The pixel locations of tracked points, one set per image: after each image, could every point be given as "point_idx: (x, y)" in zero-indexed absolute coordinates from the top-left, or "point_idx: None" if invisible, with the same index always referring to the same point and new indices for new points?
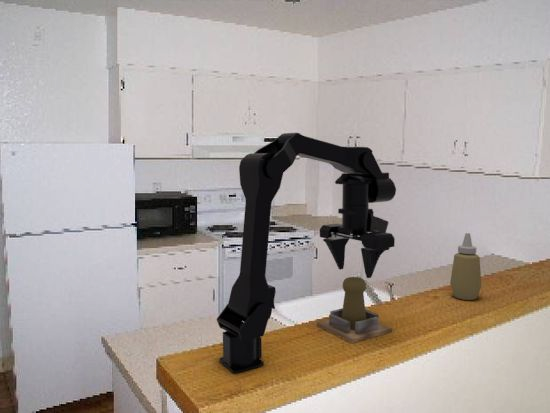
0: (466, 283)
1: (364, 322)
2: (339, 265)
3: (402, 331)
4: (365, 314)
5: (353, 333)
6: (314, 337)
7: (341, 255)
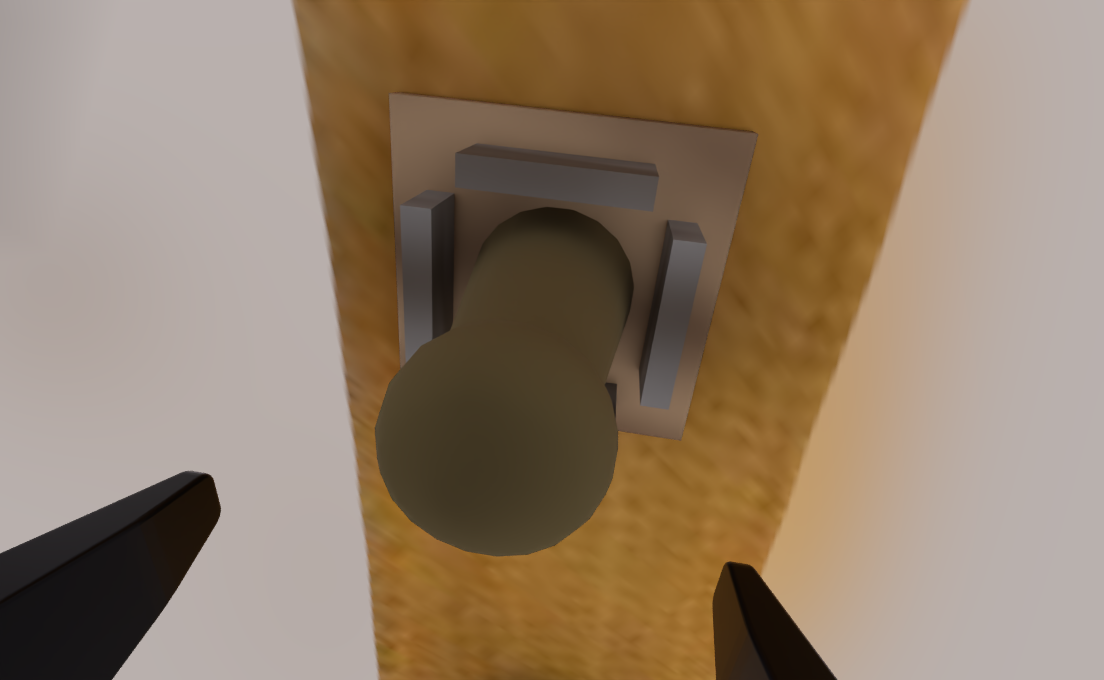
0: None
1: (678, 364)
2: (184, 564)
3: (806, 60)
4: (610, 280)
5: (635, 378)
6: None
7: (18, 662)
